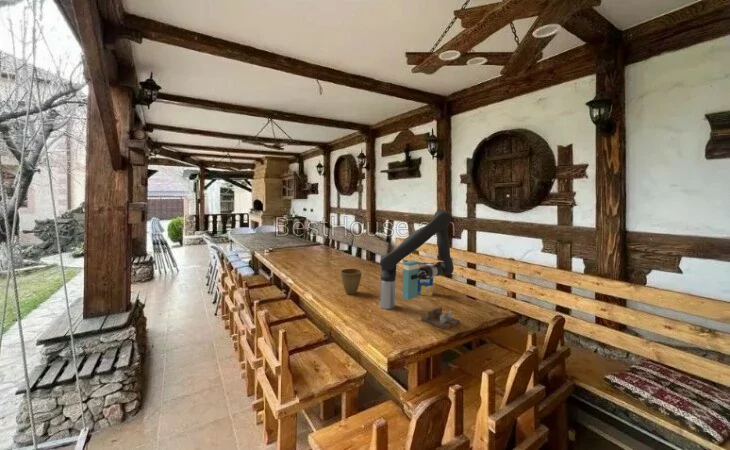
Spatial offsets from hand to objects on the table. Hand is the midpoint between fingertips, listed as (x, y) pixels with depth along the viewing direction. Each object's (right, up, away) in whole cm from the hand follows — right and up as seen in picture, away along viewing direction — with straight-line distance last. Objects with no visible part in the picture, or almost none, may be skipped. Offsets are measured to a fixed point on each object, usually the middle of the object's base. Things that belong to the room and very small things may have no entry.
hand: (408, 276), depth 171 cm
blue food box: (+19, -21, +53) cm, 60 cm away
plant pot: (-34, -20, +53) cm, 66 cm away
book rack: (+18, -26, +4) cm, 32 cm away
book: (+1, -12, +2) cm, 12 cm away
